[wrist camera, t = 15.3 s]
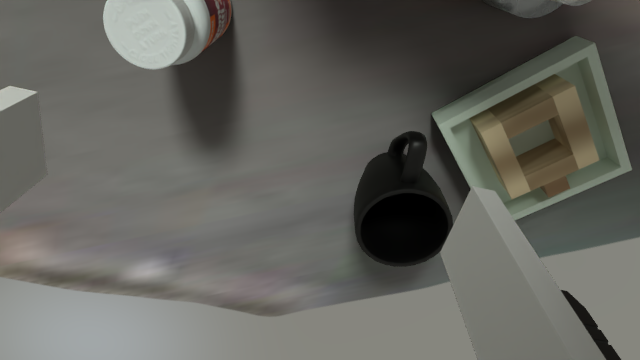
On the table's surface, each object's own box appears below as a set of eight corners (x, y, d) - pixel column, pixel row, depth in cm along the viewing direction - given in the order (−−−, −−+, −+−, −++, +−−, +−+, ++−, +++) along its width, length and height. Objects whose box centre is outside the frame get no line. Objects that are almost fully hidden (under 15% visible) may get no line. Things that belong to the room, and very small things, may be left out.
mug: (448, 108, 39) (479, 152, 31) (420, 211, 45) (439, 271, 37) (363, 98, 39) (371, 140, 31) (345, 204, 45) (349, 262, 37)
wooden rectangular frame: (469, 118, 39) (480, 133, 36) (554, 73, 37) (574, 85, 34) (504, 192, 43) (517, 211, 40) (583, 156, 41) (604, 173, 38)
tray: (430, 113, 40) (437, 125, 37) (575, 35, 36) (595, 42, 33) (483, 213, 45) (492, 230, 43) (613, 155, 41) (632, 169, 39)
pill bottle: (240, 37, 37) (206, 72, 27) (173, 46, 37) (116, 84, 27) (223, -41, 34) (178, -34, 24) (150, -30, 34) (77, -19, 24)
